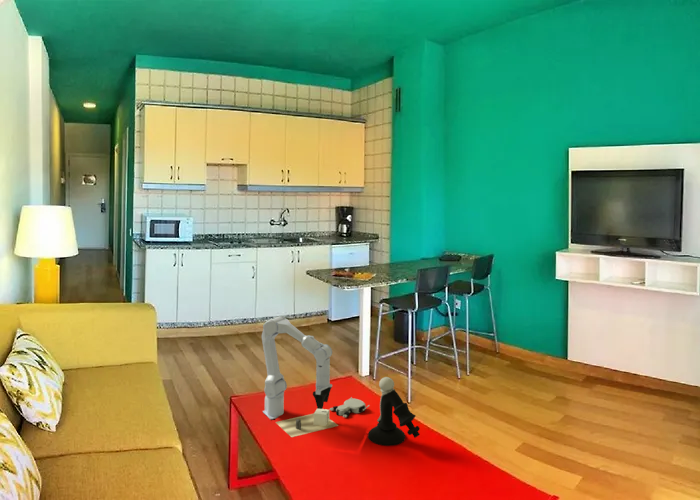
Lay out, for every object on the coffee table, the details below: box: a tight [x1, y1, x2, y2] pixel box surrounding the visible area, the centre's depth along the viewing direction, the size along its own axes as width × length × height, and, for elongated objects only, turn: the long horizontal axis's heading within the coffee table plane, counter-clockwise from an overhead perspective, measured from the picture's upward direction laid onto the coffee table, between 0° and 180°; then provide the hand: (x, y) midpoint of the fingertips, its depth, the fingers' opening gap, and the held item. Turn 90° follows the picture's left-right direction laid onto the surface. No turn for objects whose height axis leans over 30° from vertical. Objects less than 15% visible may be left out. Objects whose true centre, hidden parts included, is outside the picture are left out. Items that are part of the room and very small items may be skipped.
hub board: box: [275, 413, 339, 438], centre depth 223 cm, size 16×22×4 cm
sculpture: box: [367, 376, 420, 447], centre depth 210 cm, size 15×24×25 cm, turn 46°
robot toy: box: [329, 396, 370, 418], centre depth 237 cm, size 12×4×15 cm
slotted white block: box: [313, 407, 330, 426], centre depth 224 cm, size 5×5×5 cm
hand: (322, 404), depth 223 cm, fingers open, 7 cm apart
